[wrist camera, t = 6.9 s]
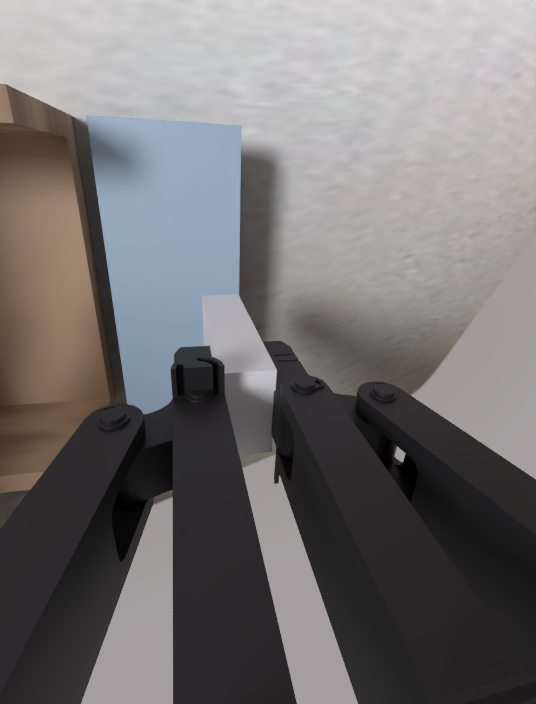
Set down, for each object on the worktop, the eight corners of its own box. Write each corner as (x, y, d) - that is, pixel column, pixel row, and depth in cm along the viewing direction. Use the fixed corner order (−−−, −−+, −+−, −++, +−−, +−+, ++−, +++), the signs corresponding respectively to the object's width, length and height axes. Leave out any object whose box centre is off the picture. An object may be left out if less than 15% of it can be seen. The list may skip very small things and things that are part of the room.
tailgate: (129, 420, 22) (237, 416, 23) (86, 115, 16) (241, 125, 16) (135, 403, 24) (236, 400, 25) (98, 120, 17) (239, 129, 18)
